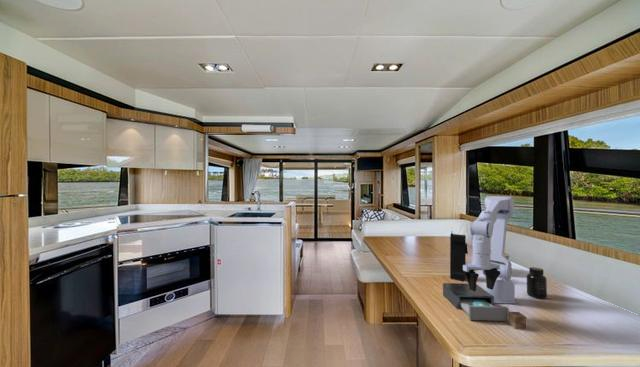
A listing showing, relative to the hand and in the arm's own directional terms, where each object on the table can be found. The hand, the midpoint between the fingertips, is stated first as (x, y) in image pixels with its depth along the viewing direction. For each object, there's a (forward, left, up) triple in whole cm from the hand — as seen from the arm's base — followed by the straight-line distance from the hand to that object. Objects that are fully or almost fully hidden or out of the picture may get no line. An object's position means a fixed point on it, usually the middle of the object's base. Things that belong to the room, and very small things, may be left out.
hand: (481, 289), depth 98 cm
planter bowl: (-34, -52, -10) cm, 63 cm away
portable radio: (-10, -39, -10) cm, 42 cm away
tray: (0, -2, -9) cm, 10 cm away
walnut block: (-8, +7, -9) cm, 14 cm away
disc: (0, 0, -8) cm, 8 cm away
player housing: (0, -10, -9) cm, 14 cm away
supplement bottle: (-34, -19, -10) cm, 40 cm away
